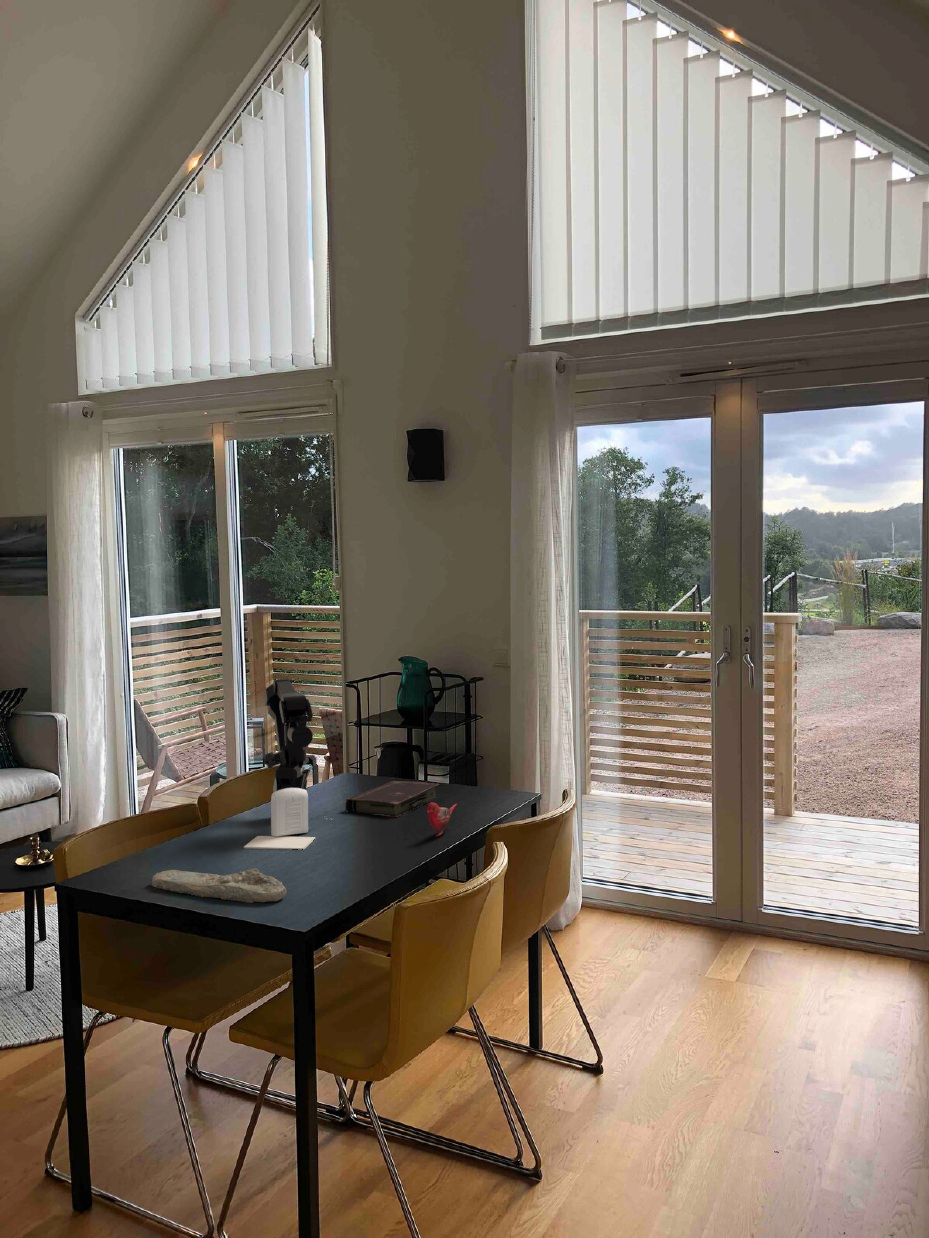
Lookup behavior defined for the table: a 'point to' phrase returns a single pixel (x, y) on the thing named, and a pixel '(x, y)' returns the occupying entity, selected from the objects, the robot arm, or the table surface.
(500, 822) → the table surface
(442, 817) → the decorative bird figurine
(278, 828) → the photo printer
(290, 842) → the mat
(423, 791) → the diary
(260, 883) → the elongated rock
